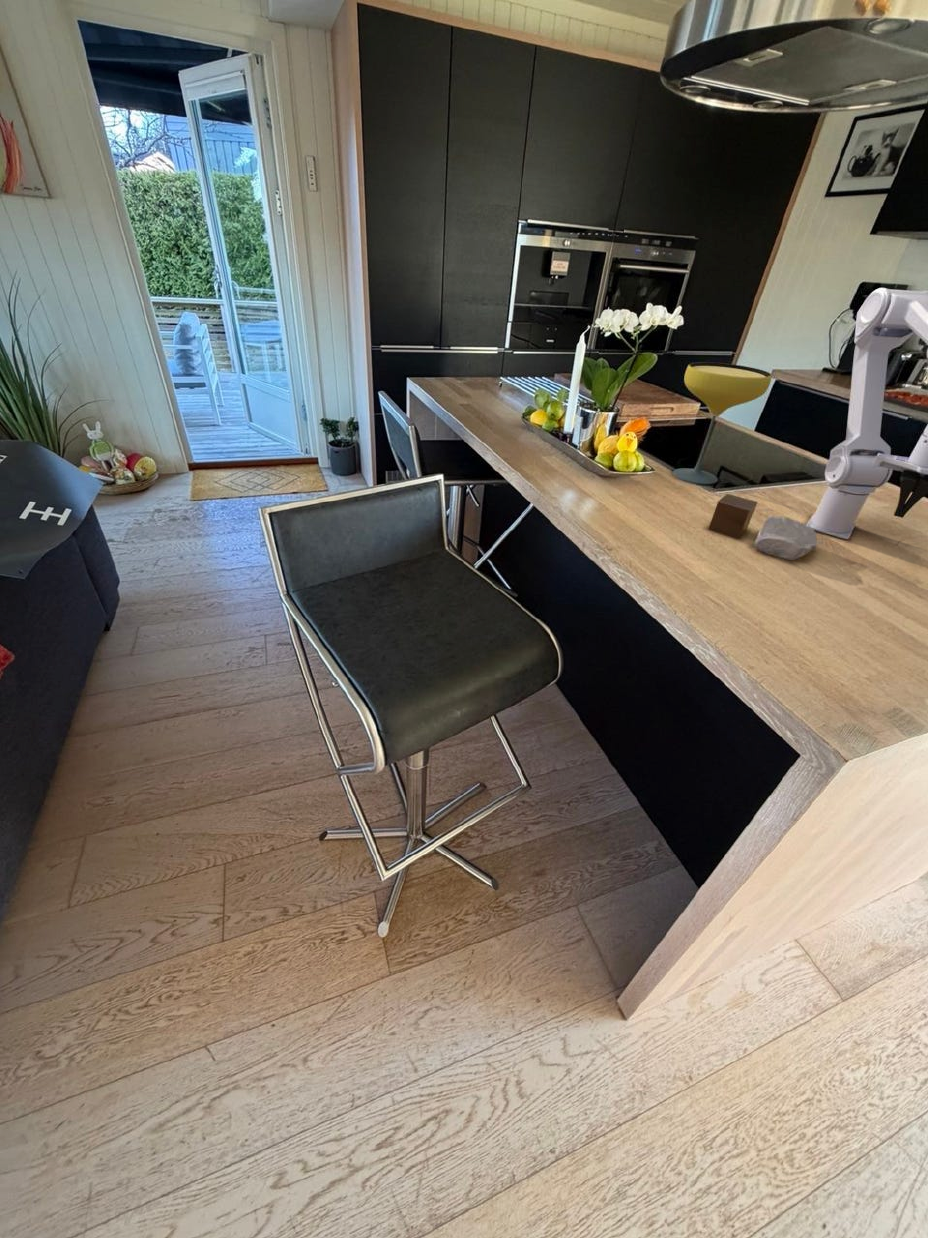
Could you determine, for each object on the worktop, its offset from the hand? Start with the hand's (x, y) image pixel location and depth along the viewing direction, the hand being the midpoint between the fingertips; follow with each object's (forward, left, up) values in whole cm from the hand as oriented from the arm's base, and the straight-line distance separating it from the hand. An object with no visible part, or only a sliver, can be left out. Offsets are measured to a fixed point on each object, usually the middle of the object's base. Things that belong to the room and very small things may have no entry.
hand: (898, 515), depth 93 cm
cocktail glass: (-21, -41, -10) cm, 47 cm away
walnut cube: (+6, -25, -9) cm, 27 cm away
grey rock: (+6, -14, -10) cm, 18 cm away
